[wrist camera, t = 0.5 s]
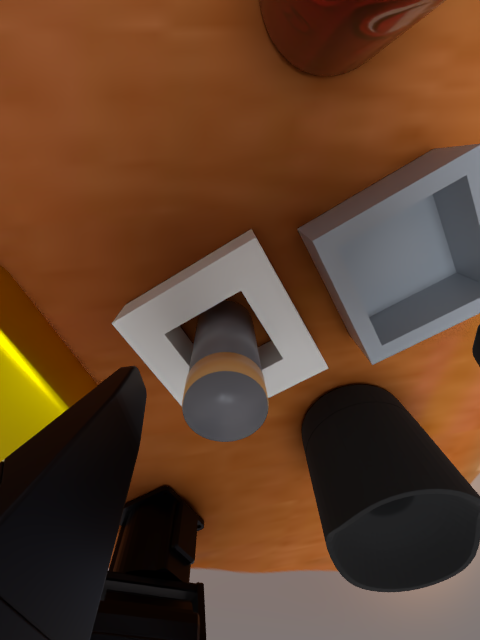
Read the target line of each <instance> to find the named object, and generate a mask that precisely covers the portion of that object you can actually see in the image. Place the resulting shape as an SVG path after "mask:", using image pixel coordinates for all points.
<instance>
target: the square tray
mask: <svg viewBox="0 0 480 640" xmlns="http://www.w3.org/2000/svg"><path fill="white" fill-rule="evenodd" d="M297 230H298V232H299V234H300V236H301V238H302V240H303V242H304V244H305V246H306V248H307V250H308V252H309V254H310V256H311V258H312V260H313V262H314V264H315V266H316V268H317V270H318V272H319V274H320V276H321V278H322V280H323V282H324V284H325V286H326V288H327V290H328V292H329V294H330V296H331V298H332V300H333V302H334V304H335V306H336V308H337V310H338V312H339V314H340V316H341V318H342V320H343V322H344V324H345V326H346V328H347V330H348V332H349V334H350V336H351V338H352V339H353V340H354V341H355V343H356V344H357V345H358V347H359V348H360V349H361V351H362V352H363V353H364V355H365V356H366V357H367V358H368V360H369V361H370V362H371V364H372V365H373V364H375V363H377V362H380V361H382V360H384V359H386V358H388V357H390V356H392V355H394V354H396V353H398V352H400V351H402V350H404V349H406V348H409V347H411V346H413V345H415V344H417V343H419V342H421V341H423V340H425V339H427V338H429V337H431V336H433V335H435V334H438V333H440V332H442V331H444V330H446V329H448V328H450V327H452V326H454V325H456V324H458V323H460V322H462V321H464V320H467V319H469V318H471V317H473V316H475V315H477V314H479V313H480V144H474V145H465V146H456V147H447V148H437V149H432V150H431V151H429V152H427V153H426V154H424V155H422V156H421V157H419V158H417V159H415V160H414V161H412V162H410V163H409V164H407V165H405V166H403V167H402V168H400V169H398V170H397V171H395V172H393V173H392V174H390V175H388V176H386V177H385V178H383V179H381V180H380V181H378V182H376V183H375V184H373V185H371V186H369V187H368V188H366V189H364V190H363V191H361V192H359V193H357V194H356V195H354V196H352V197H351V198H349V199H347V200H346V201H344V202H342V203H340V204H339V205H337V206H335V207H334V208H332V209H330V210H329V211H327V212H325V213H323V214H322V215H320V216H318V217H317V218H315V219H313V220H311V221H310V222H308V223H306V224H305V225H303V226H301V227H300V228H298V229H297Z"/></svg>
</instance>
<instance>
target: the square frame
mask: <svg viewBox="0 0 480 640" xmlns="http://www.w3.org/2000/svg"><path fill="white" fill-rule="evenodd" d="M239 291H241V292H242V293H243V295H244V296H245V298H246V300H247V301H248V303H249V304H250V306H251V308H252V309H253V311H254V312H255V314H256V316H257V317H258V319H259V321H260V322H261V324H262V325H263V327H264V329H265V330H266V332H267V333H268V335H269V337H270V338H271V341H269V342H267V343H266V344H264V345H262V346H260V347H258V353H259V358H260V364H261V369H262V373H263V376H264V380H265V385H266V390H267V396H268V398H269V397H271V396H273V395H275V394H277V393H280V392H282V391H284V390H286V389H288V388H290V387H292V386H294V385H296V384H298V383H300V382H302V381H304V380H306V379H308V378H310V377H312V376H314V375H316V374H318V373H320V372H322V371H324V370H326V369H328V366H327V364H326V362H325V361H324V359H323V357H322V355H321V353H320V351H319V349H318V347H317V346H316V344H315V342H314V340H313V338H312V337H311V335H310V333H309V331H308V329H307V328H306V326H305V324H304V322H303V320H302V319H301V317H300V315H299V313H298V311H297V310H296V308H295V306H294V304H293V302H292V301H291V299H290V297H289V295H288V293H287V292H286V290H285V288H284V286H283V284H282V283H281V281H280V279H279V277H278V275H277V274H276V272H275V270H274V268H273V266H272V265H271V263H270V261H269V259H268V257H267V256H266V254H265V252H264V250H263V248H262V247H261V245H260V243H259V241H258V240H257V238H256V236H255V234H254V232H253V231H252V229H250V230H249V231H247V232H245V233H244V234H242V235H240V236H239V237H237V238H235V239H234V240H232V241H230V242H229V243H227V244H225V245H224V246H222V247H220V248H219V249H217V250H215V251H214V252H212V253H211V254H209V255H207V256H206V257H204V258H202V259H201V260H199V261H197V262H196V263H194V264H192V265H191V266H189V267H187V268H186V269H184V270H182V271H181V272H179V273H177V274H176V275H174V276H172V277H171V278H169V279H167V280H166V281H164V282H162V283H161V284H159V285H157V286H156V287H154V288H153V289H151V290H149V291H148V292H146V293H144V294H143V295H141V296H139V297H138V298H136V299H134V300H133V301H131V302H129V303H128V304H126V305H125V306H124V307H123V309H122V310H121V311H120V313H119V314H118V315H117V317H116V318H115V319H114V321H113V322H112V325H113V326H114V327H115V328H116V329H117V330H118V332H119V333H120V334H121V335H122V336H123V338H124V339H125V340H126V341H127V342H128V343H129V345H130V346H131V347H132V348H133V349H134V351H135V352H136V353H137V354H138V355H139V356H140V358H141V359H142V360H143V361H144V362H145V364H146V365H147V366H148V367H149V368H150V369H151V371H152V372H153V373H154V374H155V375H156V377H157V378H158V379H159V380H160V381H161V382H162V384H163V385H164V386H165V387H166V388H167V390H168V391H169V392H170V393H171V394H172V395H173V397H174V398H175V399H176V400H177V401H178V403H179V404H180V405H181V406H182V400H183V394H184V389H185V384H186V379H187V375H188V373H189V367H190V362H191V356H192V351H193V345H194V344H193V343H192V342H191V340H190V339H189V338H188V336H187V335H186V334H185V332H184V331H183V330H182V328H181V327H180V325H181V324H183V323H185V322H187V321H188V320H190V319H192V318H194V317H195V316H197V315H199V314H201V313H202V312H204V311H206V310H208V309H209V308H211V307H213V306H215V305H217V304H218V303H220V302H222V301H224V300H225V299H227V298H229V297H231V296H232V295H234V294H236V293H238V292H239Z"/></svg>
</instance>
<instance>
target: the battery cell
mask: <svg viewBox="0 0 480 640" xmlns="http://www.w3.org/2000/svg"><path fill="white" fill-rule="evenodd" d="M268 407H269V401H268V396H267V390H266V385H265V380H264V376H263V373H262V369H261V364H260V358H259V353H258V348H257V342H256V337H255V332H254V326H253V321H252V318H251V315H250V313H249V312H248V311H247V309H246V308H245V307H243V306H242V305H240V304H239V303H236V302H233V301H227V300H224V301H222V302H220V303H218V304H217V305H215V306H213V307H211V308H209V309H208V310H206V311H204V312H202V313H201V314H200V316H199V319H198V323H197V328H196V334H195V339H194V345H193V351H192V356H191V362H190V367H189V373H188V375H187V379H186V384H185V389H184V394H183V400H182V410H183V415H184V418H185V420H186V422H187V424H188V425H189V427H190V428H191V429H192V430H193V431H194V432H196V433H197V434H199V435H200V436H202V437H204V438H207V439H210V440H214V441H220V442H228V441H236V440H240V439H243V438H245V437H247V436H249V435H251V434H253V433H254V432H255V431H256V430H258V429H259V428H260V426H261V425H262V424H263V422H264V421H265V419H266V416H267V413H268Z"/></svg>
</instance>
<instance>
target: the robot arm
mask: <svg viewBox="0 0 480 640" xmlns="http://www.w3.org/2000/svg"><path fill="white" fill-rule="evenodd" d="M473 356H474V358H475V360H476V361H477V363H478V365H479V366H480V325H479V326H478V329H477V333H476V337H475V340H474V344H473ZM145 404H146V388H145V385H144V383H143V380H142V377H141V375H140V372H139V370H138V368H137V367H135V366H129V367H122V368H120V369H118V370H117V371H116V372H114V373H113V374H112V375H111V376H109V377H108V378H107V379H105V380H104V381H103V382H102V383H100V384H99V385H98V386H97V387H95V388H94V389H93V390H91V391H90V392H89V393H88V394H86V395H85V396H84V397H83V398H81V399H80V400H79V401H77V402H76V403H75V404H74V405H72V406H71V407H70V408H69V409H67V410H66V411H65V412H63V413H62V414H61V415H60V416H58V417H57V418H56V419H55V420H53V421H52V422H51V423H49V424H48V425H47V426H46V427H44V428H43V429H42V430H41V431H39V432H38V433H37V434H35V435H34V436H33V437H32V438H30V439H29V440H28V441H27V442H25V443H24V444H23V445H21V446H20V447H19V448H18V449H16V450H15V451H14V452H13V453H11V454H10V455H9V456H7V457H6V458H5V459H4V461H1V462H0V640H206V623H205V604H204V584H203V583H199V582H198V583H189V577H190V566H191V564H193V563H194V560H195V549H196V536H197V531H199V530H201V529H203V528H204V521H203V520H202V519H201V518H200V517H199V516H198V515H197V514H196V513H195V512H194V511H193V510H192V509H191V508H190V507H189V506H188V505H187V504H186V503H185V502H184V501H183V500H182V499H181V498H180V497H179V496H178V495H177V494H176V493H175V492H174V491H173V490H172V489H171V488H170V487H167V486H164V487H161V488H159V489H157V490H155V491H153V492H151V493H149V494H146V495H144V496H142V497H140V498H138V499H136V500H134V501H131V502H129V503H127V504H125V501H126V498H127V494H128V490H129V486H130V482H131V478H132V474H133V471H134V467H135V463H136V459H137V455H138V451H139V446H140V440H141V433H142V425H143V418H144V411H145ZM119 525H121V530H120V533H119V537H118V540H117V543H116V547H115V550H114V554H113V557H112V561H111V564H110V567H109V563H110V560H111V556H112V552H113V548H114V544H115V540H116V536H117V532H118V529H119ZM108 567H109V571H108Z"/></svg>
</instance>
